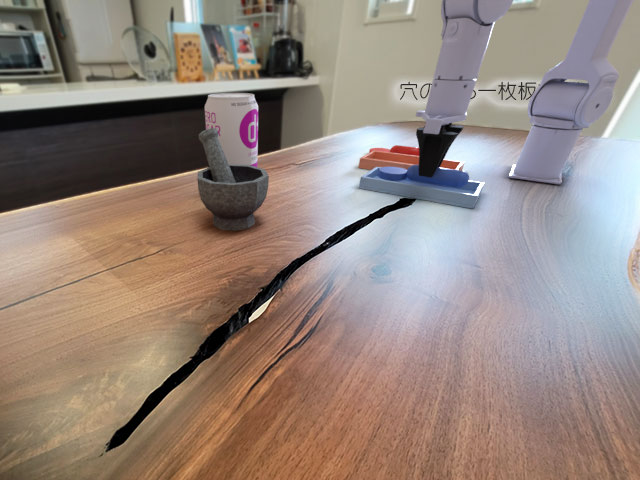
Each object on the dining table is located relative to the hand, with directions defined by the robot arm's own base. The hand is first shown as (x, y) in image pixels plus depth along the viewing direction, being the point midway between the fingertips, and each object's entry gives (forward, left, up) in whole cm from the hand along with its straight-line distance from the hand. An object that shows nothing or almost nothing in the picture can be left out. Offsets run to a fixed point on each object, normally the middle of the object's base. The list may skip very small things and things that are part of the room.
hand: (427, 173), depth 60 cm
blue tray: (0, -1, -3) cm, 3 cm away
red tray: (-13, -6, -3) cm, 15 cm away
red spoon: (-22, -10, -3) cm, 24 cm away
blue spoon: (0, -1, -1) cm, 2 cm away
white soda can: (+19, -27, -3) cm, 33 cm away
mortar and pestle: (+29, -20, -3) cm, 35 cm away
